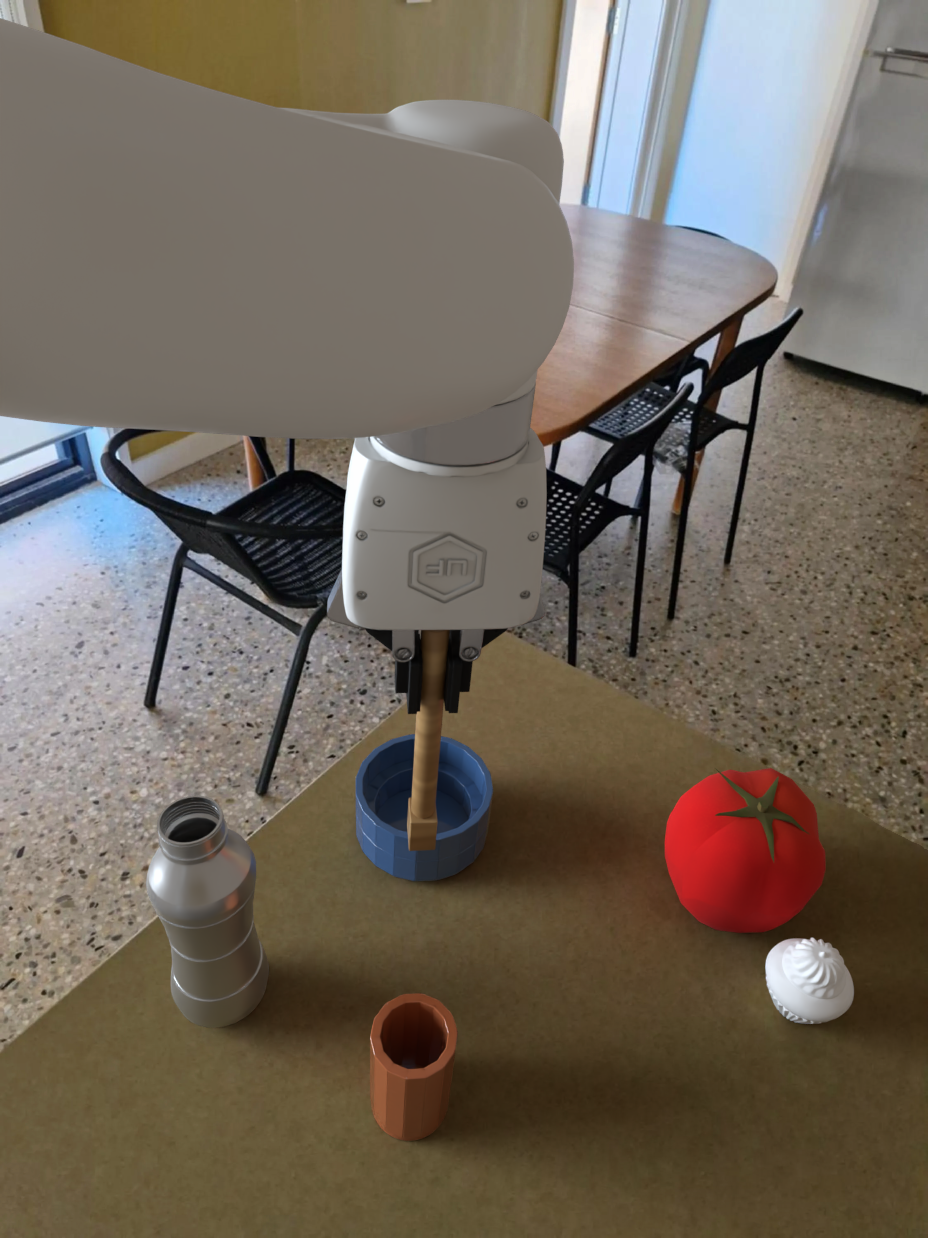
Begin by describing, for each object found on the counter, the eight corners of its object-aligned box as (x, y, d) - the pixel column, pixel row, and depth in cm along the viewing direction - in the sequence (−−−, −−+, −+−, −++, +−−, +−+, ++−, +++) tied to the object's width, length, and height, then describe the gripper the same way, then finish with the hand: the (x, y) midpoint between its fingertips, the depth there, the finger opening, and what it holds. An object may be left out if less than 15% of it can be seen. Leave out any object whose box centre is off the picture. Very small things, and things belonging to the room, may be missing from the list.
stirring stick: (435, 850, 60) (453, 635, 48) (408, 851, 60) (420, 636, 48) (432, 824, 62) (450, 610, 50) (406, 825, 62) (418, 611, 50)
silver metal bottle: (166, 975, 65) (117, 798, 52) (256, 939, 67) (231, 762, 55) (188, 1056, 60) (141, 884, 48) (284, 1014, 63) (263, 841, 51)
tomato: (621, 897, 73) (649, 806, 65) (698, 802, 81) (731, 712, 74) (759, 992, 67) (807, 904, 60) (827, 879, 75) (876, 790, 68)
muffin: (742, 1015, 65) (769, 964, 61) (764, 950, 70) (791, 899, 65) (827, 1060, 63) (861, 1011, 59) (844, 991, 67) (878, 940, 63)
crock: (452, 1138, 58) (461, 1076, 52) (370, 1144, 57) (370, 1082, 51) (446, 1057, 62) (454, 991, 56) (369, 1062, 61) (369, 995, 55)
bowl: (493, 883, 73) (500, 837, 69) (356, 888, 71) (355, 842, 68) (479, 777, 81) (484, 732, 78) (356, 781, 80) (355, 735, 76)
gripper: (273, 445, 37) (293, 747, 49) (634, 451, 39) (572, 740, 51) (283, 372, 43) (299, 657, 55) (597, 380, 45) (549, 654, 57)
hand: (430, 695), depth 53 cm, fingers closed on stirring stick, 1 cm apart
